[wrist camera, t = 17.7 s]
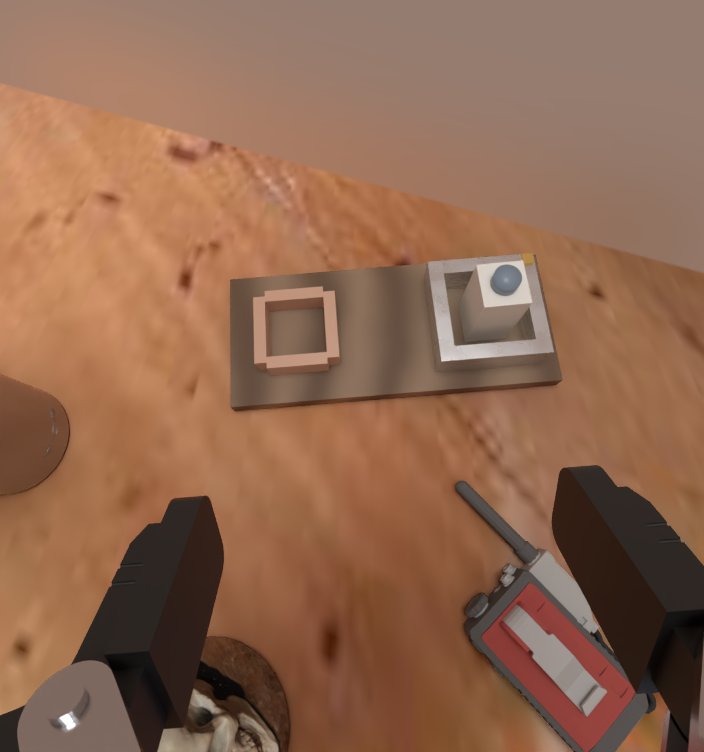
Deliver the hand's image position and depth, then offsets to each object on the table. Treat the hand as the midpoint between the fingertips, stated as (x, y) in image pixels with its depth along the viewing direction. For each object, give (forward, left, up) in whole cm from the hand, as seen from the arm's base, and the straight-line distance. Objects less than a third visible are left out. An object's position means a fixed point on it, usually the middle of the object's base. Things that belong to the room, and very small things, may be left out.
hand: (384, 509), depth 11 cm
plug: (+11, +16, -27) cm, 33 cm away
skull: (-13, -14, -29) cm, 35 cm away
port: (+11, +16, -27) cm, 33 cm away
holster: (-5, +16, -27) cm, 32 cm away
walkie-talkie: (+11, -8, -29) cm, 32 cm away
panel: (+3, +16, -29) cm, 33 cm away
